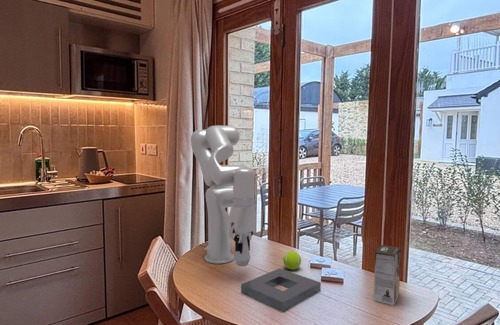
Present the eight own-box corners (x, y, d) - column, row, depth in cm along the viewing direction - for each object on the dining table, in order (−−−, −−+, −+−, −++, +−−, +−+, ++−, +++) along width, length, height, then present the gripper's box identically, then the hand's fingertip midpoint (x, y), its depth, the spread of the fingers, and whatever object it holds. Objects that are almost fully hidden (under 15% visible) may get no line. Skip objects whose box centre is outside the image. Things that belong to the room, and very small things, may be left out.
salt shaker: (248, 268, 123) (248, 232, 121) (232, 266, 124) (233, 231, 122) (251, 261, 128) (252, 228, 127) (236, 260, 130) (237, 226, 128)
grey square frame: (241, 292, 115) (241, 284, 115) (279, 276, 129) (279, 268, 129) (283, 312, 102) (283, 302, 102) (320, 291, 116) (320, 282, 116)
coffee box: (379, 290, 117) (380, 244, 116) (399, 294, 114) (401, 247, 113) (373, 300, 109) (374, 251, 108) (394, 306, 106) (396, 255, 105)
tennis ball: (283, 272, 133) (283, 254, 132) (283, 265, 140) (283, 248, 139) (301, 272, 132) (301, 255, 132) (300, 266, 139) (300, 249, 139)
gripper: (251, 197, 132) (250, 243, 134) (219, 203, 120) (218, 254, 122) (266, 200, 127) (265, 248, 129) (233, 207, 115) (232, 260, 117)
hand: (242, 250), depth 126 cm, fingers closed on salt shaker, 3 cm apart
